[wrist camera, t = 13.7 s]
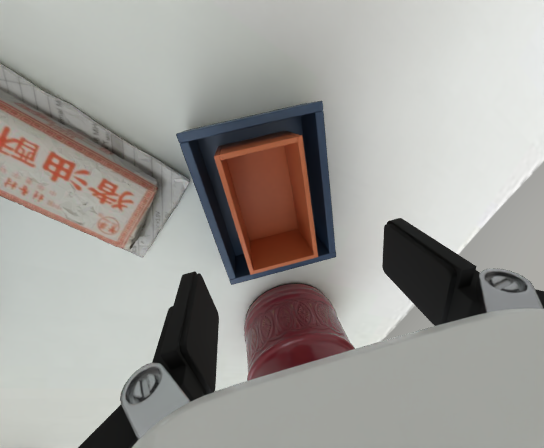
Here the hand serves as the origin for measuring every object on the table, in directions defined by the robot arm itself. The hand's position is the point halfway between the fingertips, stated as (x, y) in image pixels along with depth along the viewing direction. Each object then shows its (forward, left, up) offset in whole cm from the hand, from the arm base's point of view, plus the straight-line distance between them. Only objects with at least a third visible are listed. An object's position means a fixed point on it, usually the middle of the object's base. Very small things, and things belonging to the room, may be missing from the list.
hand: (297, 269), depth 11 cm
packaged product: (-1, -17, -15) cm, 23 cm away
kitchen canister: (+20, +5, -15) cm, 25 cm away
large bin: (+1, 0, -15) cm, 15 cm away
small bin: (0, 0, -14) cm, 14 cm away
